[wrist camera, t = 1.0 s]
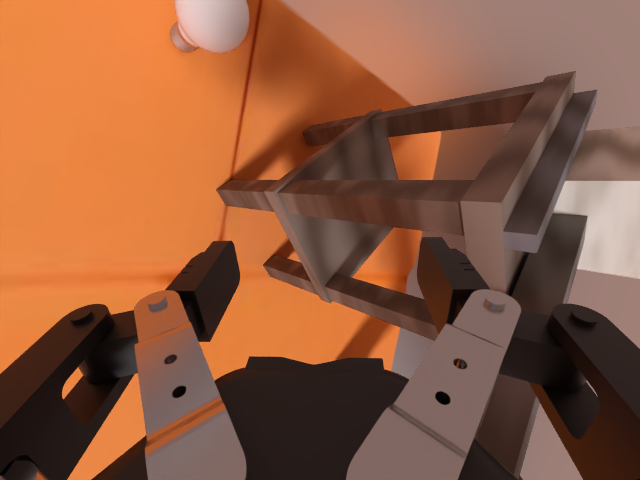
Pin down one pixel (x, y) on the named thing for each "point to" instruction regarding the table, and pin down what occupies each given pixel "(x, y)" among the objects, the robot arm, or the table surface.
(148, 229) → the table surface
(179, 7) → the lightbulb
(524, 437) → the wooden mallet
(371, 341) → the table surface
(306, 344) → the table surface
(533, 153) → the shelf stand
